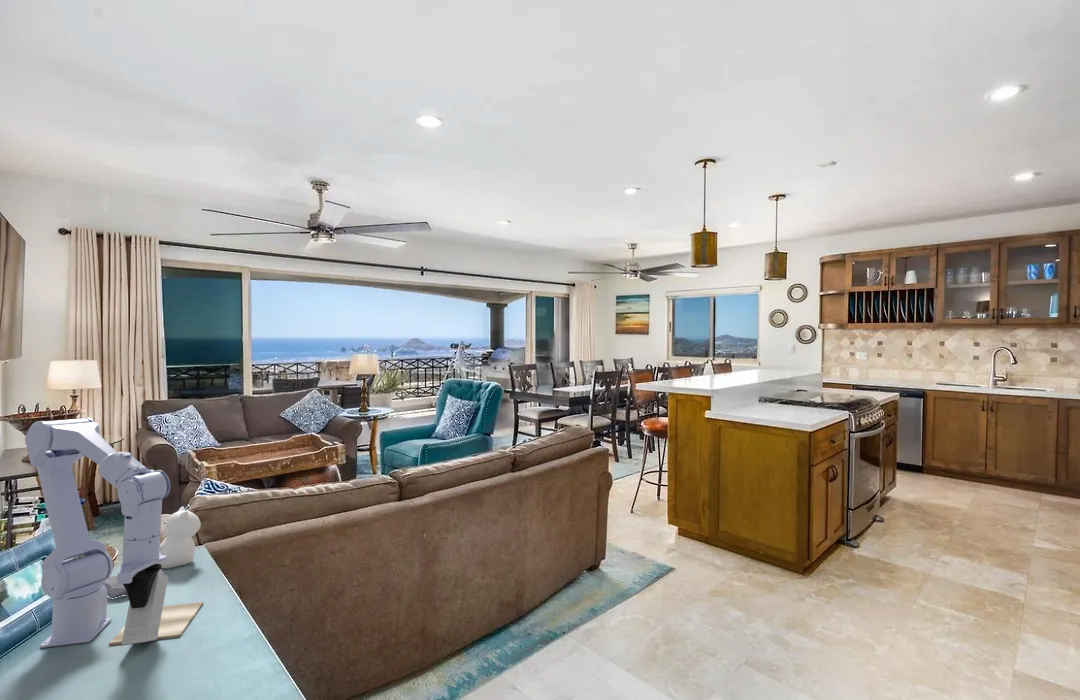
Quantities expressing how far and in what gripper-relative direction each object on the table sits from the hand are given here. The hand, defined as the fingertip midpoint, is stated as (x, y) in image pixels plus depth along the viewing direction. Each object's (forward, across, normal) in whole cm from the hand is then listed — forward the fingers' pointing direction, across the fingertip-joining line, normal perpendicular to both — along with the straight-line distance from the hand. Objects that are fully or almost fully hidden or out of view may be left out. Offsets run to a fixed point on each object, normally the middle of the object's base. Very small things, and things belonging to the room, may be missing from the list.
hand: (139, 606), depth 100 cm
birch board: (+8, +11, 0) cm, 14 cm away
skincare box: (+7, +1, 0) cm, 7 cm away
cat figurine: (+9, +47, +9) cm, 48 cm away
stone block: (+9, +32, +13) cm, 36 cm away
